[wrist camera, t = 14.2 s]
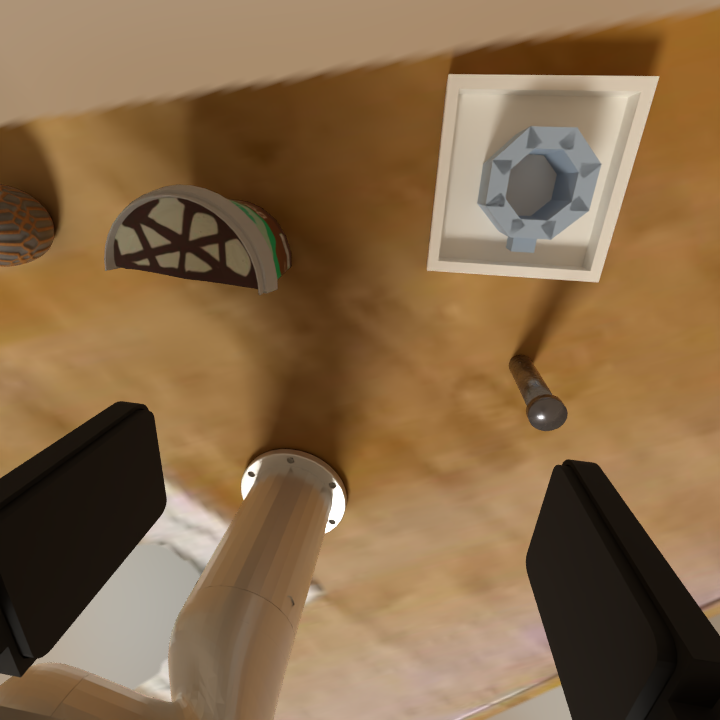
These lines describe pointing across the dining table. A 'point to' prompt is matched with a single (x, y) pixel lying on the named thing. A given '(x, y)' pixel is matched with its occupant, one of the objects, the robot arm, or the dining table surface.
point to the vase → (22, 227)
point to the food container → (199, 239)
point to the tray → (532, 169)
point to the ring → (570, 188)
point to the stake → (537, 395)
